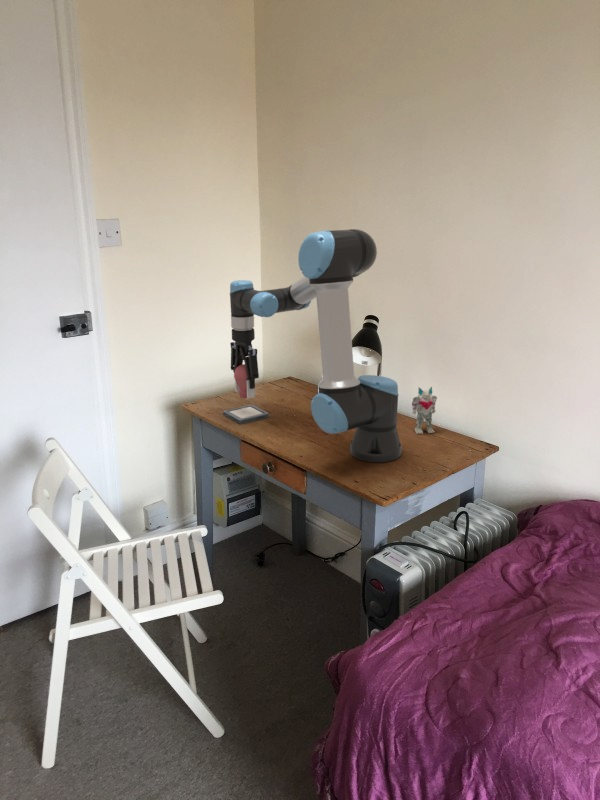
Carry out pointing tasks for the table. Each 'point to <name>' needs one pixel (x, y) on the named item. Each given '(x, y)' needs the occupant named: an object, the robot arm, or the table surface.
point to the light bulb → (241, 380)
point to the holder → (246, 414)
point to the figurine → (424, 409)
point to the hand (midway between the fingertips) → (245, 394)
